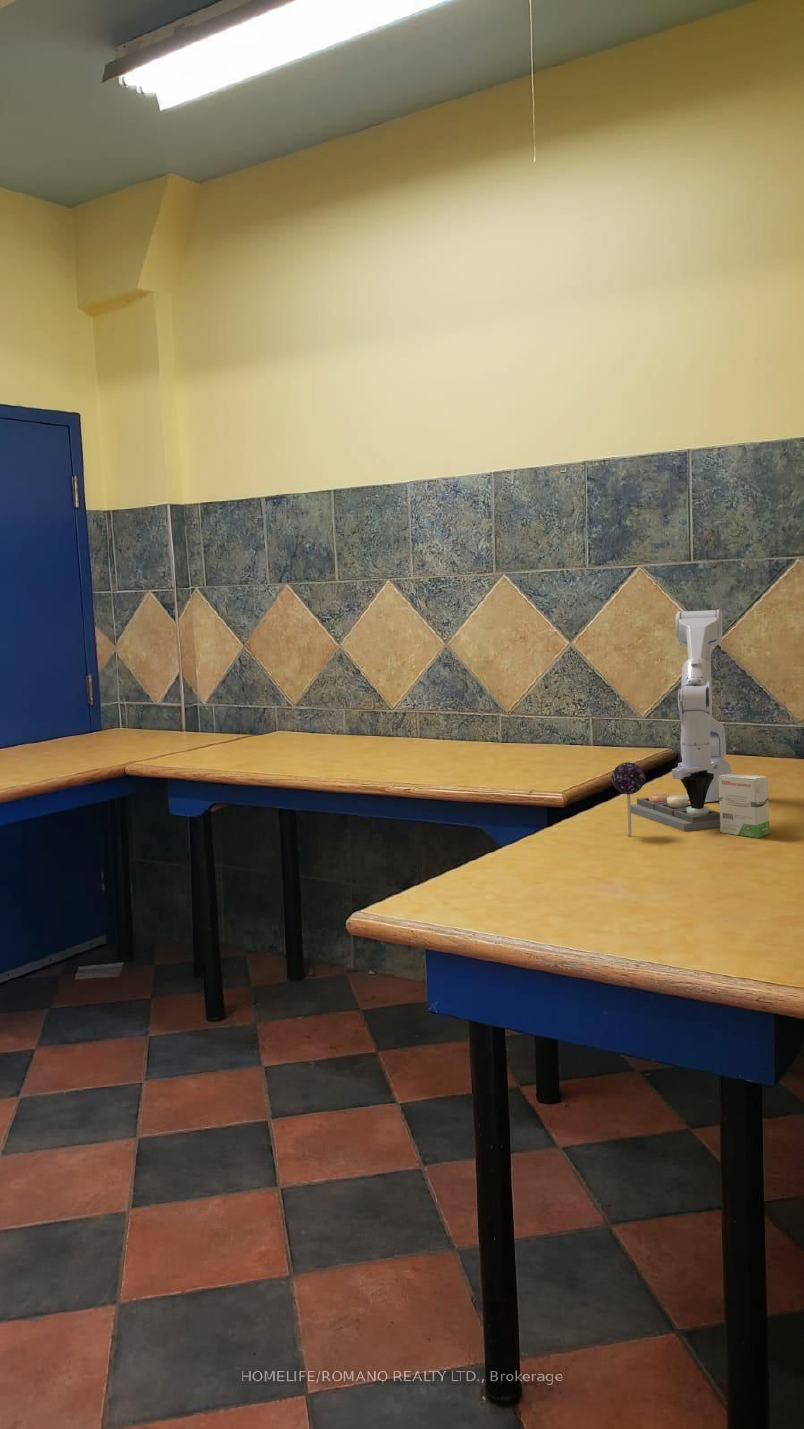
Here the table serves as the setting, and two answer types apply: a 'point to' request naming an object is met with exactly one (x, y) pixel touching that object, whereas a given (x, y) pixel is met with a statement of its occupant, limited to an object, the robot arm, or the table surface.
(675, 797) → the cream button
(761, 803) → the ink box
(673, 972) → the table surface
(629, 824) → the lollipop
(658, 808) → the panel
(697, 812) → the blue-grey button
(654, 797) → the terracotta button
